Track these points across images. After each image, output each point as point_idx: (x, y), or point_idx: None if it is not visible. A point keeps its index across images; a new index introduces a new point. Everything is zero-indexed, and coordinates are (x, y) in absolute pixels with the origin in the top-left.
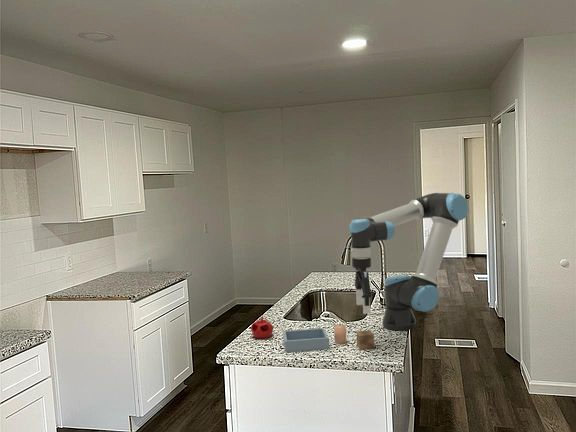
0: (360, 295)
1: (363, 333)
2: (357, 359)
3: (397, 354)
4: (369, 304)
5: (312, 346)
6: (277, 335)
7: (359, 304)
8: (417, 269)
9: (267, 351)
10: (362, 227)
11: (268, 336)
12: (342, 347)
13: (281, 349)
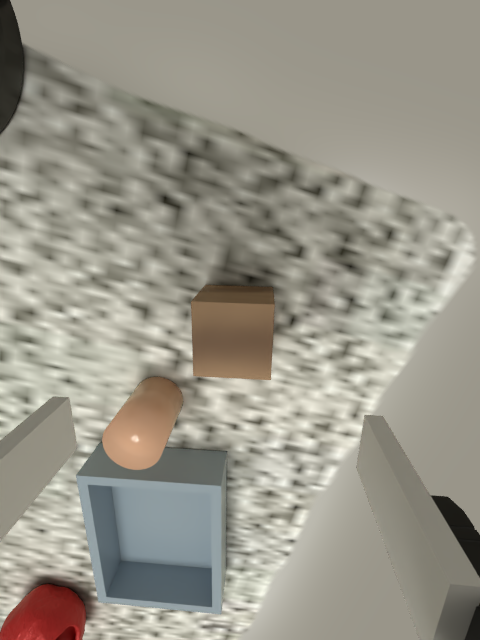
0: (2, 489)
1: (237, 350)
2: (372, 382)
3: (378, 201)
4: (422, 491)
5: (224, 513)
6: (52, 567)
7: (70, 431)
8: None
9: None
10: None
11: (77, 598)
12: (220, 404)
13: None
